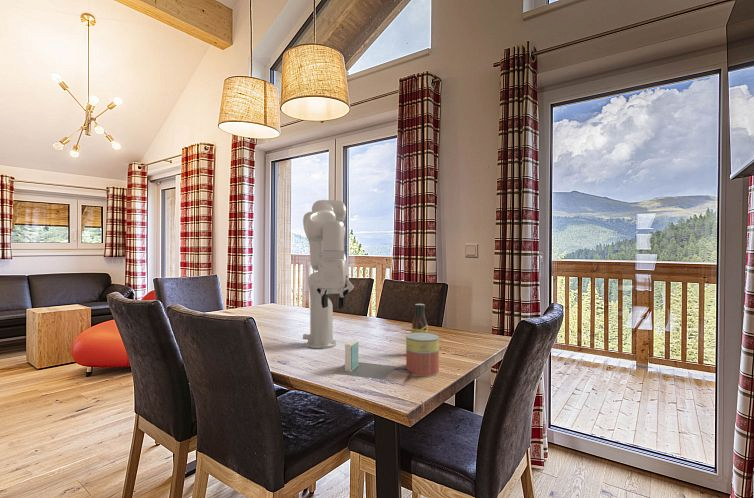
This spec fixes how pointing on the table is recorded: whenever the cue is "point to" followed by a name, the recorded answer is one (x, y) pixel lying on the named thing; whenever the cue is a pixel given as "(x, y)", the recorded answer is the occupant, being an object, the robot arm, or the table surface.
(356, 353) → the tile
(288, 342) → the table surface
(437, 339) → the canned food
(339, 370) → the slate board
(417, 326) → the sauce bottle
